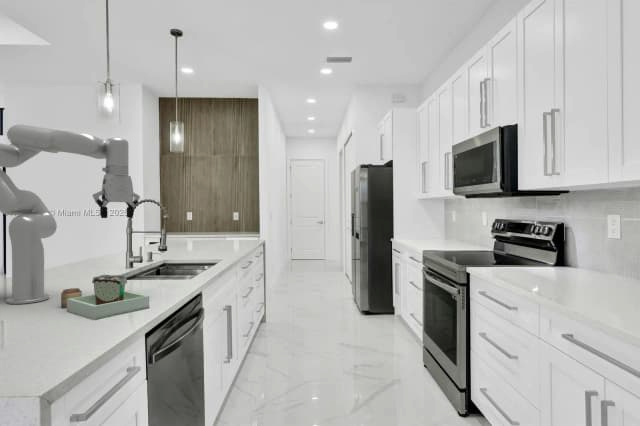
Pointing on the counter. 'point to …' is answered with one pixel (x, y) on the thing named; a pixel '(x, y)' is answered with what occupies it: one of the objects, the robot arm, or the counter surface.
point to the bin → (107, 305)
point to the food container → (109, 288)
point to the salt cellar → (69, 295)
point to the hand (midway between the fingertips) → (117, 217)
